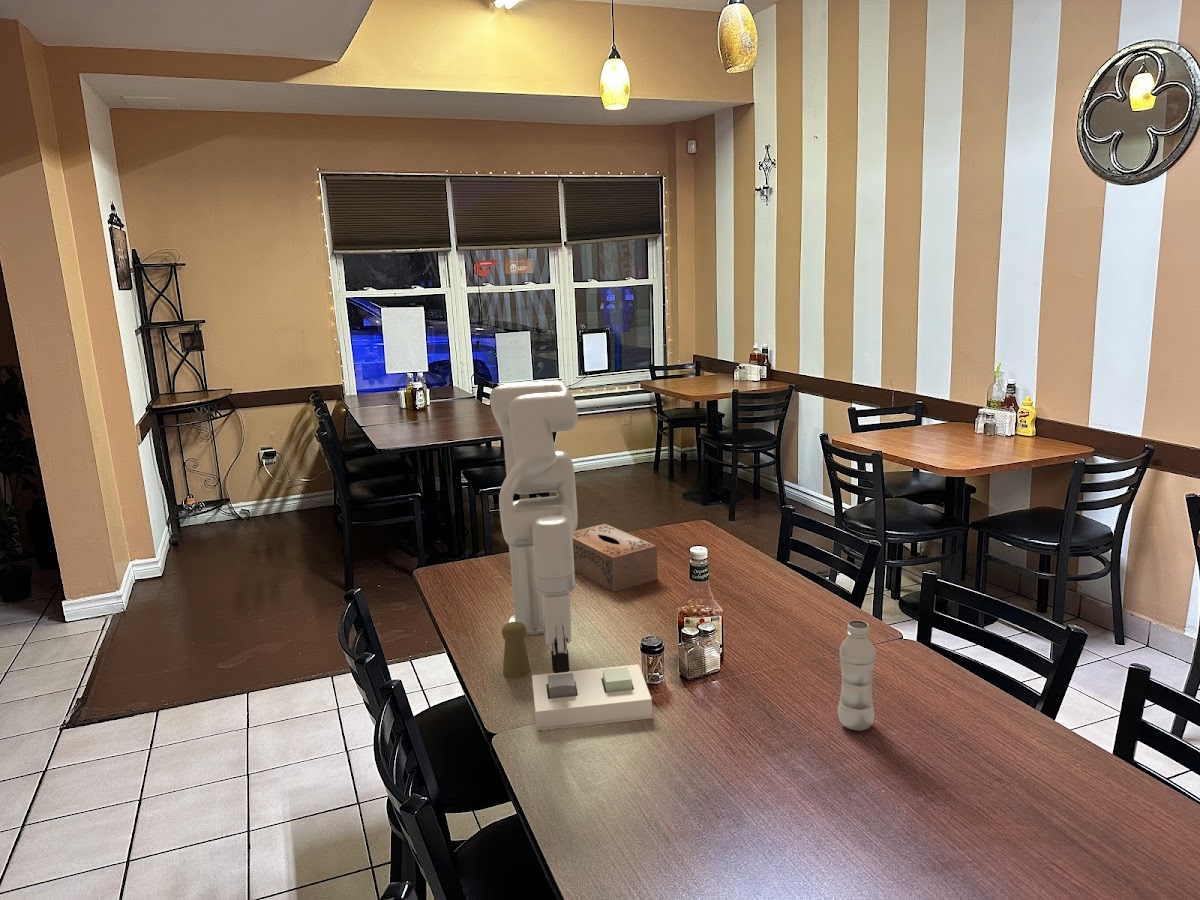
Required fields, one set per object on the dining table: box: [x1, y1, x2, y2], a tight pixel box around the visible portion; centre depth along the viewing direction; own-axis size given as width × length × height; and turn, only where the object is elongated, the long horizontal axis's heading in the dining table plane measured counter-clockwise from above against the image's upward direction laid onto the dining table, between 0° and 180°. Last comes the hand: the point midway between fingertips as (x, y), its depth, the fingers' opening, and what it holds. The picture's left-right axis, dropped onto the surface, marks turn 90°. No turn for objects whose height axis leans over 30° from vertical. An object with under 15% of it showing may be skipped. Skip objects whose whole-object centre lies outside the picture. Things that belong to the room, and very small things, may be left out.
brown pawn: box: [501, 622, 532, 679], centre depth 171 cm, size 6×6×11 cm
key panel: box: [531, 663, 653, 732], centre depth 157 cm, size 14×22×4 cm, turn 97°
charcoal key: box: [548, 673, 576, 699], centre depth 156 cm, size 5×5×3 cm
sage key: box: [603, 667, 632, 693], centre depth 157 cm, size 5×5×3 cm
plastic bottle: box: [837, 619, 877, 732], centre depth 145 cm, size 6×7×20 cm
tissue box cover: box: [573, 523, 659, 593], centre depth 226 cm, size 26×14×10 cm, turn 33°
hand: (560, 670), depth 155 cm, fingers closed
